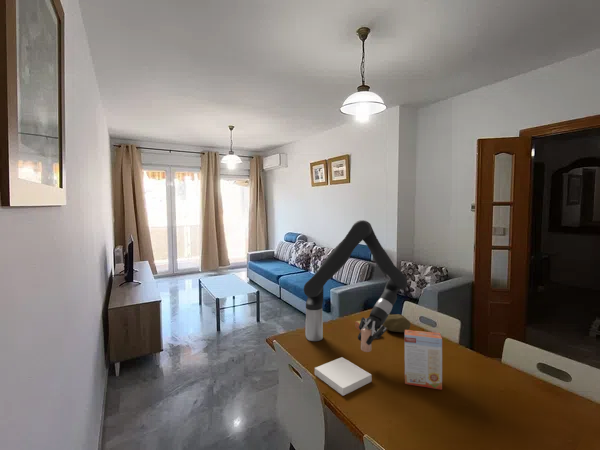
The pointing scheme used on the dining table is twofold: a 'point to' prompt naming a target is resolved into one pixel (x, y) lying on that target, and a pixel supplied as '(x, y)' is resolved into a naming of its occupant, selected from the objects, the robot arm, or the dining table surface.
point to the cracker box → (423, 359)
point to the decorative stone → (397, 323)
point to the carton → (358, 325)
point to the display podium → (343, 375)
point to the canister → (365, 339)
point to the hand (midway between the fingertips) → (363, 341)
